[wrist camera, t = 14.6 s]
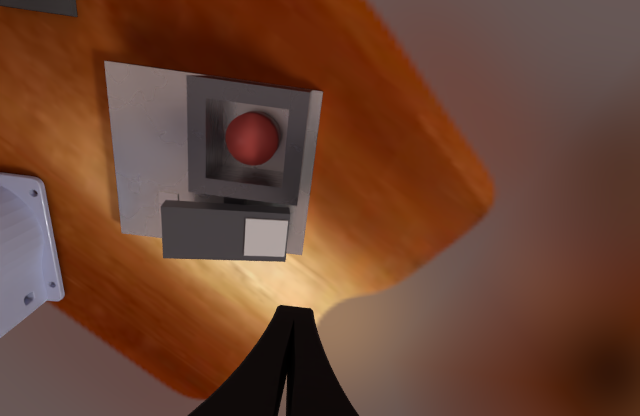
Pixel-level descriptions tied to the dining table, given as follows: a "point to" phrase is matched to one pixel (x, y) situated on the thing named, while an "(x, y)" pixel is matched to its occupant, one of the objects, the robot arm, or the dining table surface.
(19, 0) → the pad
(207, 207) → the block
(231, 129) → the button
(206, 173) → the panel
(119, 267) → the dining table surface
